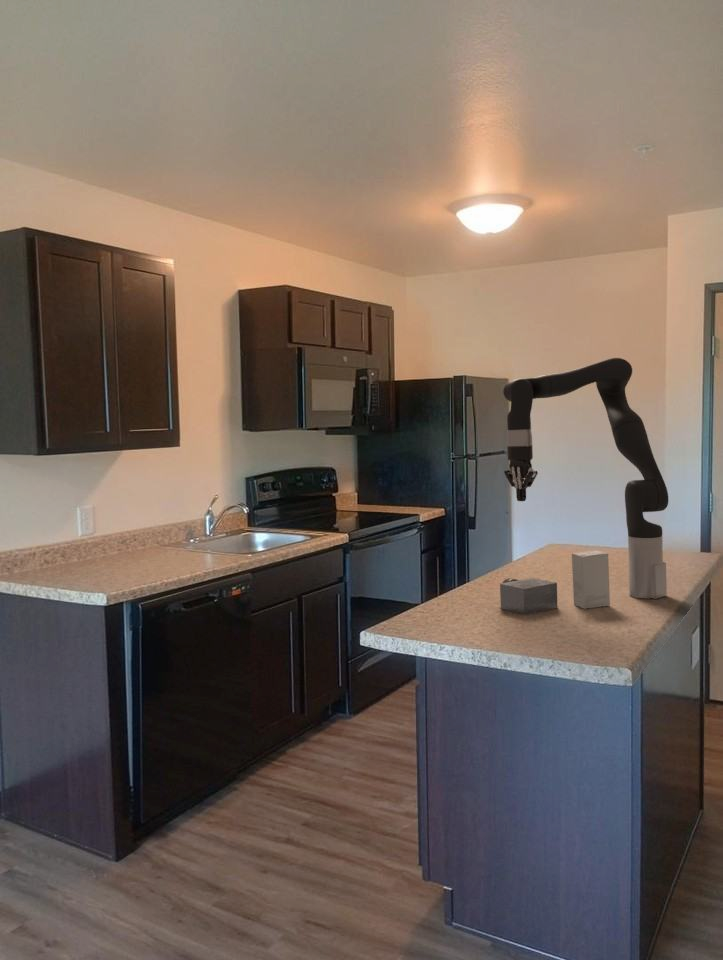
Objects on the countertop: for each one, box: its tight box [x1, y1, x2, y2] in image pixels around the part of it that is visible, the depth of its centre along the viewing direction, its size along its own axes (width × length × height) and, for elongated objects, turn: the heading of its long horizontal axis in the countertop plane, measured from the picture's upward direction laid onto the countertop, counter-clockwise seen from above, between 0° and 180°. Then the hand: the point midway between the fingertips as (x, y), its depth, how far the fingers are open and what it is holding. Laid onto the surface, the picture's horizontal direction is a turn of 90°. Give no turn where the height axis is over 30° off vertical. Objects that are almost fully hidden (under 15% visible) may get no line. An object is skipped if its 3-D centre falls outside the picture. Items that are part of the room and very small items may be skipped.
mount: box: [499, 577, 559, 616], centre depth 215 cm, size 10×12×7 cm
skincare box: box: [571, 549, 611, 610], centre depth 214 cm, size 8×6×15 cm
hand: (521, 500), depth 240 cm, fingers closed
